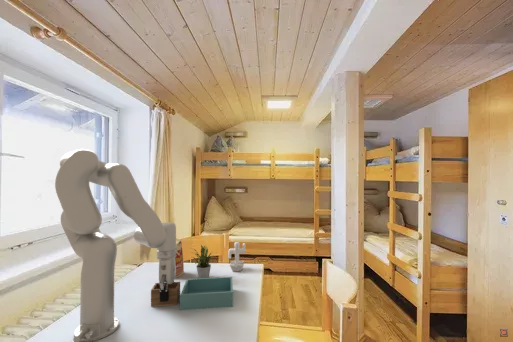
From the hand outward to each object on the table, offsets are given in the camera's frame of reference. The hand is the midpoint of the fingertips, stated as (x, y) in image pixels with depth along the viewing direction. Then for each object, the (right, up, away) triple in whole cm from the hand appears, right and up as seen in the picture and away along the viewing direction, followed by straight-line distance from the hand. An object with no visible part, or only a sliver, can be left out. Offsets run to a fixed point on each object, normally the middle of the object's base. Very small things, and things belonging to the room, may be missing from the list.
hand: (167, 295), depth 102 cm
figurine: (+26, -3, +34) cm, 43 cm away
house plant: (+9, -3, +24) cm, 26 cm away
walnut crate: (0, -3, 0) cm, 3 cm away
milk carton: (-7, -3, +27) cm, 28 cm away
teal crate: (+17, -3, +2) cm, 17 cm away
